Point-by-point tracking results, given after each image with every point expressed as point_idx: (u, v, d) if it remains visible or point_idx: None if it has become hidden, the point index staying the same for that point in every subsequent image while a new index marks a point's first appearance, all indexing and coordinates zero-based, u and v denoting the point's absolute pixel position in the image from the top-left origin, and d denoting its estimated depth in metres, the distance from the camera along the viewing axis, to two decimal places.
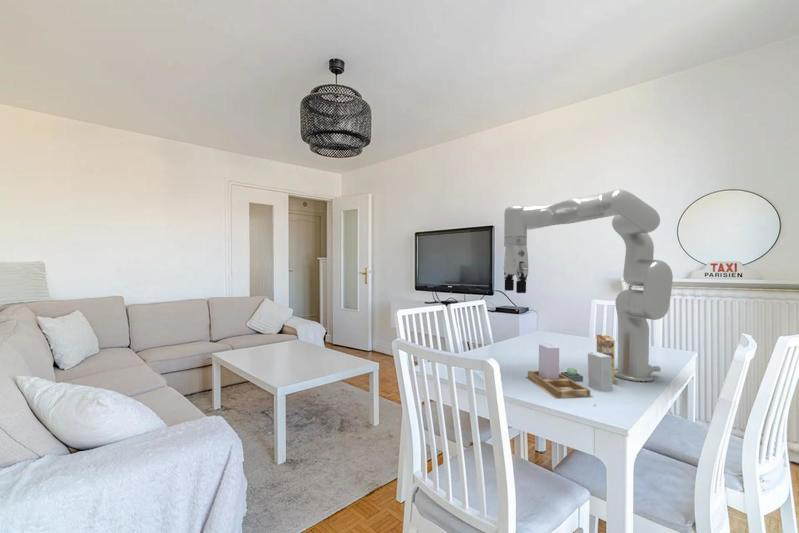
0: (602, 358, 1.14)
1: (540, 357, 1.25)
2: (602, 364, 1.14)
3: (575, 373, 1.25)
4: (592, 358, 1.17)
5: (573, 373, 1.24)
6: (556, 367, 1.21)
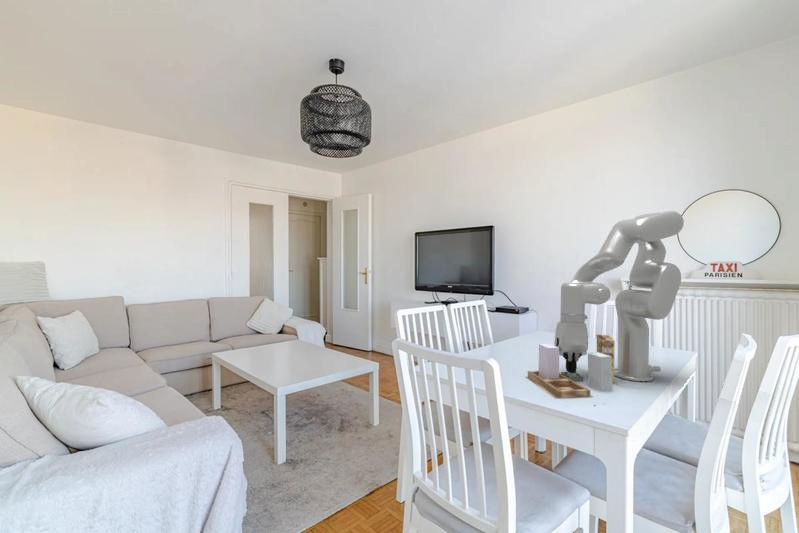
0: (602, 358, 1.14)
1: (540, 357, 1.25)
2: (602, 364, 1.14)
3: (575, 375, 1.25)
4: (592, 358, 1.17)
5: (573, 375, 1.24)
6: (556, 367, 1.21)
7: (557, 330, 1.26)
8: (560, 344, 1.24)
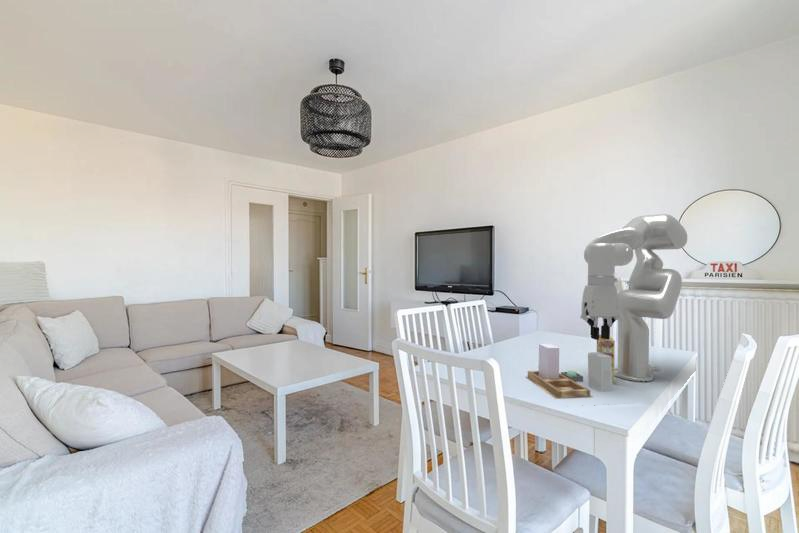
0: (602, 358, 1.14)
1: (540, 357, 1.25)
2: (602, 364, 1.14)
3: None
4: (592, 358, 1.17)
5: (573, 375, 1.24)
6: (556, 367, 1.21)
7: (585, 294, 1.17)
8: (588, 308, 1.15)
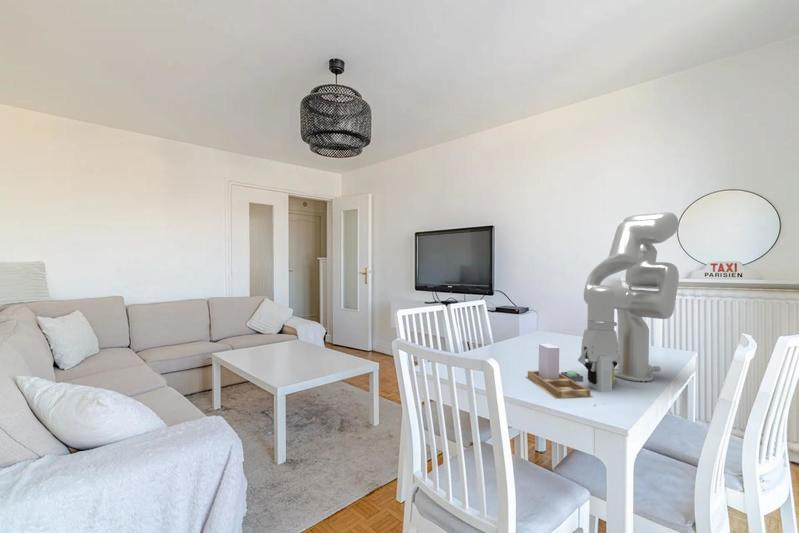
0: (602, 358, 1.14)
1: (540, 357, 1.25)
2: (601, 364, 1.14)
3: None
4: None
5: (573, 375, 1.24)
6: (556, 367, 1.21)
7: (584, 338, 1.17)
8: (588, 353, 1.15)
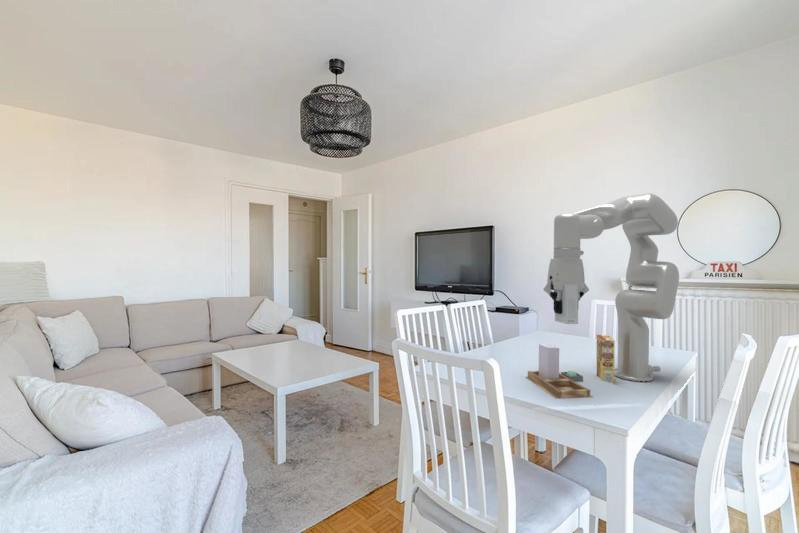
0: (567, 286, 1.10)
1: (540, 357, 1.25)
2: (567, 292, 1.10)
3: None
4: None
5: (573, 375, 1.24)
6: (556, 367, 1.21)
7: (550, 267, 1.13)
8: (553, 282, 1.11)
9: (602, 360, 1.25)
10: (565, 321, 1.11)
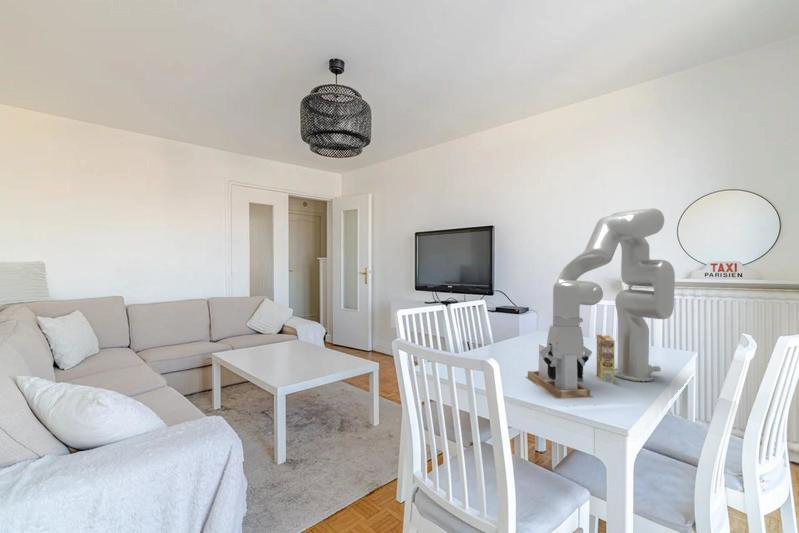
0: (566, 357, 1.11)
1: (540, 357, 1.25)
2: (566, 363, 1.11)
3: None
4: None
5: None
6: None
7: (549, 335, 1.14)
8: (553, 350, 1.12)
9: (602, 360, 1.25)
10: None
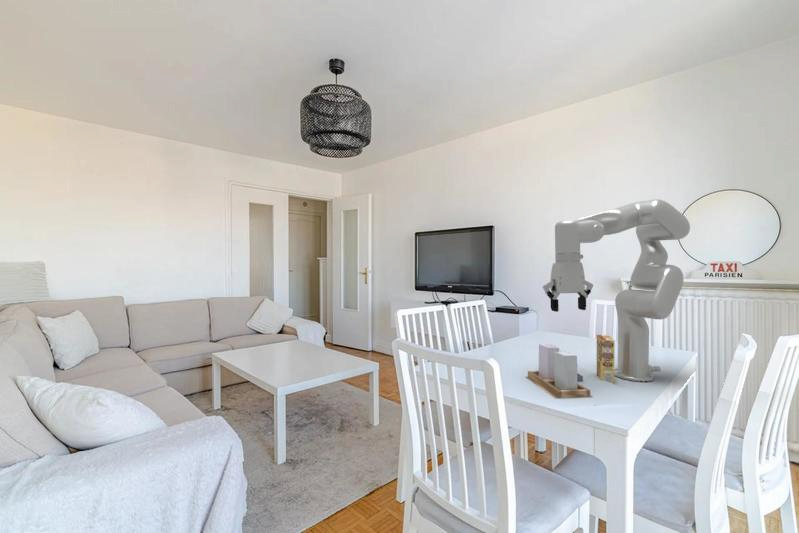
0: (566, 357, 1.11)
1: (540, 357, 1.25)
2: (566, 363, 1.11)
3: None
4: (558, 357, 1.14)
5: None
6: None
7: (552, 271, 1.21)
8: (556, 285, 1.19)
9: (602, 360, 1.25)
10: None
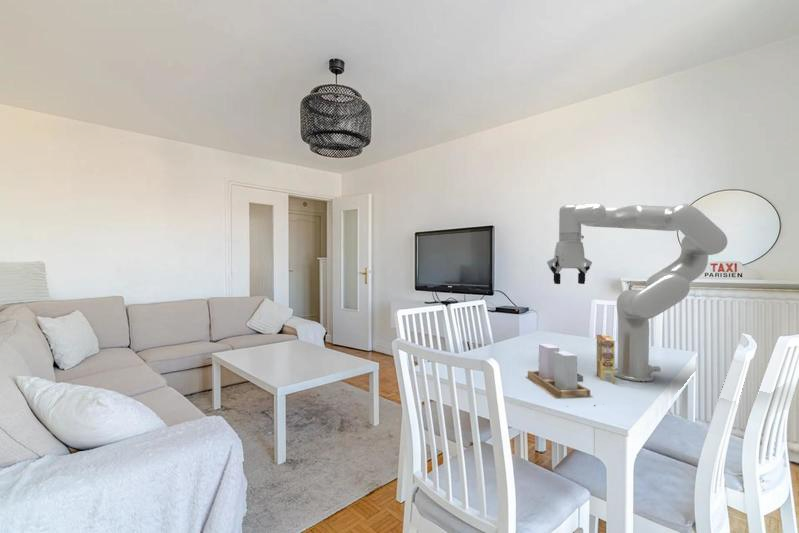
0: (566, 357, 1.11)
1: (540, 357, 1.25)
2: (566, 363, 1.11)
3: None
4: (558, 357, 1.14)
5: None
6: None
7: (556, 249, 1.38)
8: (559, 260, 1.36)
9: (602, 360, 1.25)
10: None
